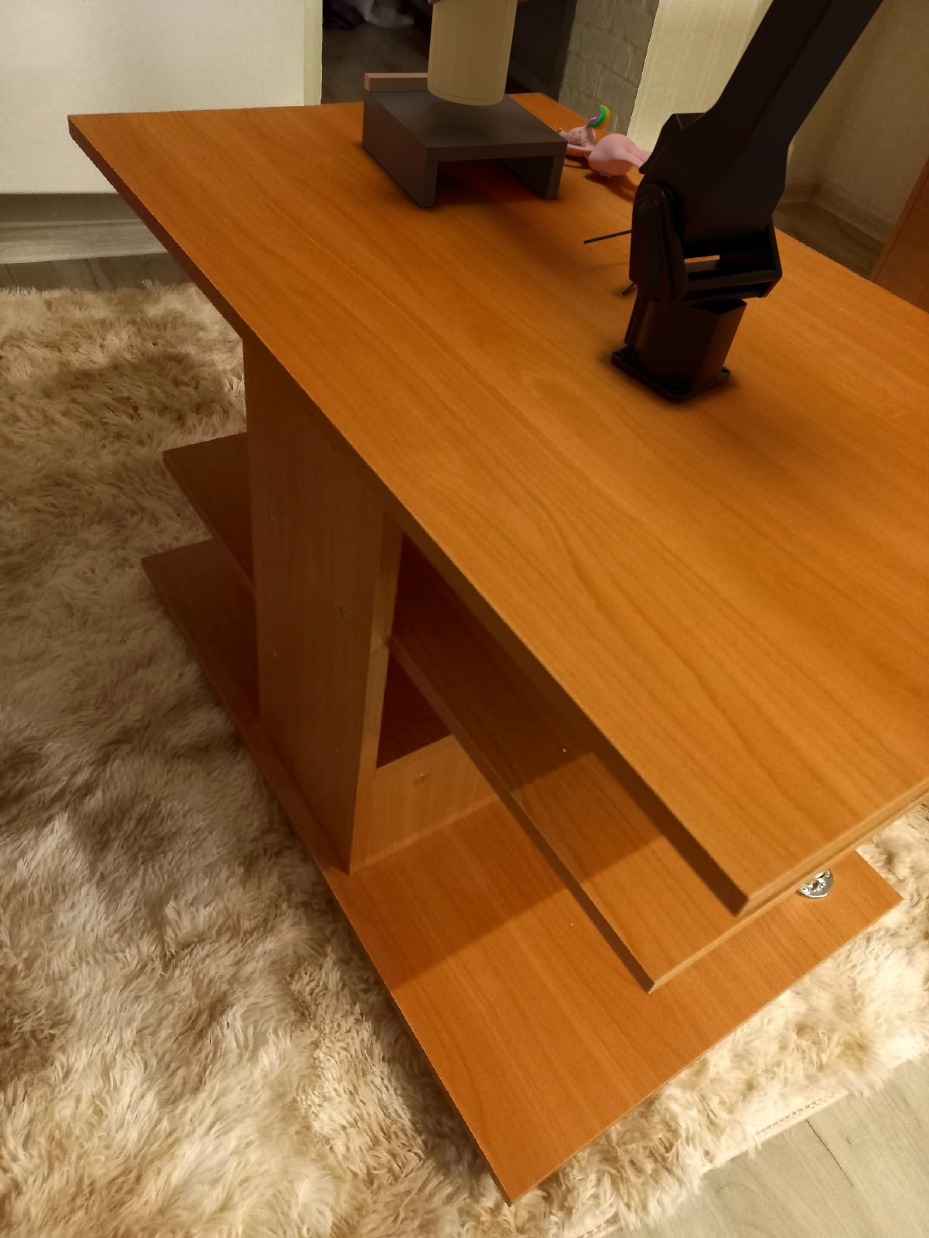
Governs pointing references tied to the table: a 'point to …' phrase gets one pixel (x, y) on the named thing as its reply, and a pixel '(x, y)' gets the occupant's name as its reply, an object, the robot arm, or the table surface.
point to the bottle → (470, 50)
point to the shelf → (453, 135)
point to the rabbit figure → (604, 147)
